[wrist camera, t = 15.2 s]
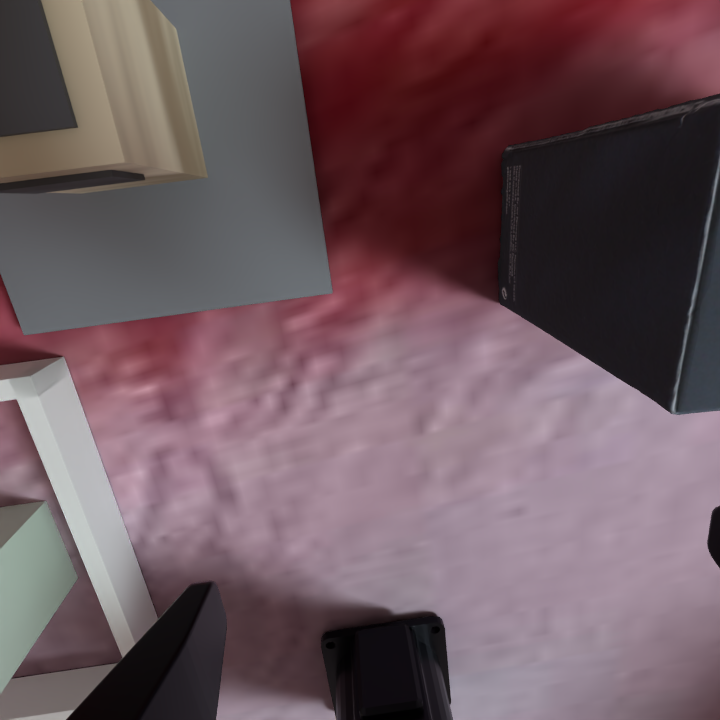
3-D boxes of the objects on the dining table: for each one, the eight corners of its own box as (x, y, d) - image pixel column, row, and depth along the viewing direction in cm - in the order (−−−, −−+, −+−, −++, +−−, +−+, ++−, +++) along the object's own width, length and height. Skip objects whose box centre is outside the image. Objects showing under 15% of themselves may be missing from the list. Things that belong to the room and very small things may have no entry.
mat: (332, 290, 19) (332, 293, 18) (33, 331, 18) (23, 335, 18) (265, -168, 14) (262, -183, 13) (-136, -119, 14) (-156, -133, 13)
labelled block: (176, 28, 15) (47, -114, 8) (208, 182, 16) (124, 169, 10) (36, 45, 15) (-211, -85, 8) (82, 198, 16) (-92, 196, 10)
